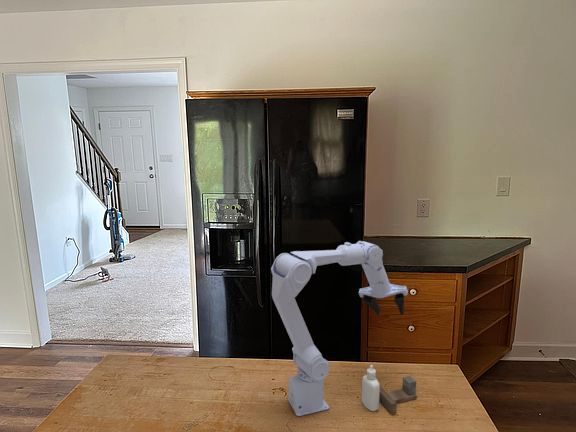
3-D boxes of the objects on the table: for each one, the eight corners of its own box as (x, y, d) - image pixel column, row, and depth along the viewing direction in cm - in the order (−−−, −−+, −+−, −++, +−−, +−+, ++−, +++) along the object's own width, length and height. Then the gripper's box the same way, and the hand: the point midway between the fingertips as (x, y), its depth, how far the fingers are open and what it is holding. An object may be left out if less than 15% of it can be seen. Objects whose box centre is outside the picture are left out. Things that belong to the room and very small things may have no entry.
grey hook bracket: (391, 414, 104) (392, 397, 103) (370, 390, 114) (370, 375, 113) (424, 405, 107) (425, 389, 106) (400, 383, 117) (401, 368, 116)
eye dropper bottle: (376, 399, 110) (378, 360, 108) (379, 412, 105) (381, 372, 103) (361, 398, 111) (362, 359, 109) (363, 411, 105) (364, 371, 103)
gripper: (403, 267, 113) (416, 303, 118) (358, 271, 121) (371, 304, 126) (399, 283, 108) (412, 319, 113) (351, 285, 115) (366, 319, 120)
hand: (390, 312), depth 119 cm, fingers open, 7 cm apart
